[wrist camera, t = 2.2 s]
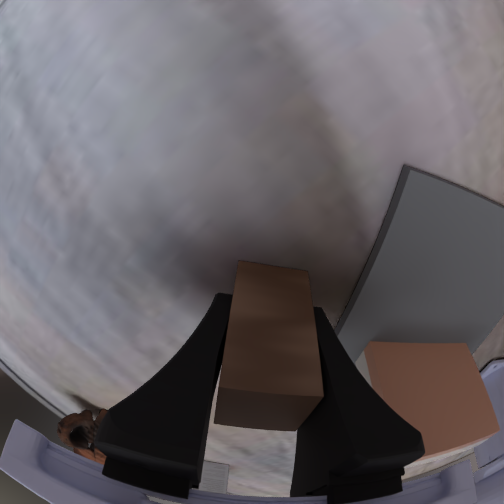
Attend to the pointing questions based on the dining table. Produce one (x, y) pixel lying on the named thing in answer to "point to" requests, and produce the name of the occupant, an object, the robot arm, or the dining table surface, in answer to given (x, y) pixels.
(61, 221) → the dining table surface
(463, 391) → the whetstone
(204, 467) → the skincare box
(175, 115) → the dining table surface
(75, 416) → the pottery mug
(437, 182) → the mat
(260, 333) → the walnut block
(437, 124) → the dining table surface
